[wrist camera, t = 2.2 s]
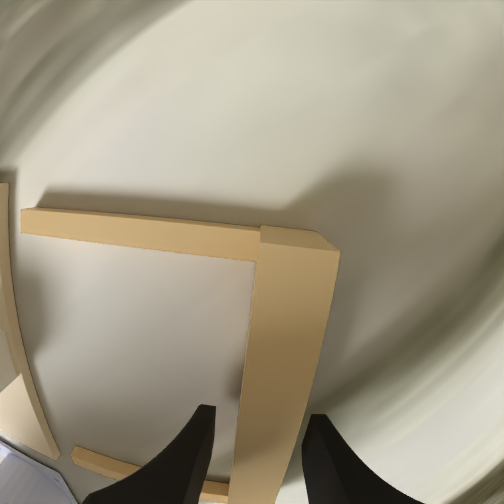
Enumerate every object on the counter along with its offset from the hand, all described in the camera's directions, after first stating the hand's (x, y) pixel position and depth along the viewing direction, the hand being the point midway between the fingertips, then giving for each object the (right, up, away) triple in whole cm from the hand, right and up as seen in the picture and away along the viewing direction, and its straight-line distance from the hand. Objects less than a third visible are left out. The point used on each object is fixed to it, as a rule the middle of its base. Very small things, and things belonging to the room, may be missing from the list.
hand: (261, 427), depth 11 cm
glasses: (-5, +1, +1) cm, 5 cm away
